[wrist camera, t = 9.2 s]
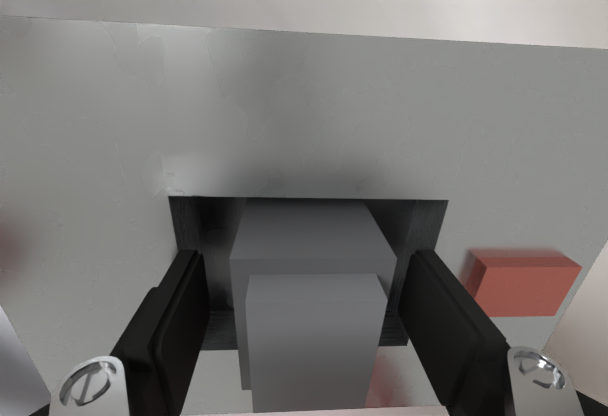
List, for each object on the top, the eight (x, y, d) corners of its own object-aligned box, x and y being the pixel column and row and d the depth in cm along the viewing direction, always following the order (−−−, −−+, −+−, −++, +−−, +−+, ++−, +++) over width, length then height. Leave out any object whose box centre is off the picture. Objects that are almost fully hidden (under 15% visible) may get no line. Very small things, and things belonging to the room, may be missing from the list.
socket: (-50, 22, 9) (-209, 0, 6) (621, 58, 10) (749, 54, 7) (96, 369, 16) (56, 434, 13) (481, 358, 17) (519, 415, 14)
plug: (248, 192, 11) (221, 285, 6) (358, 193, 12) (411, 283, 7) (254, 296, 14) (237, 423, 9) (345, 295, 14) (377, 416, 9)
